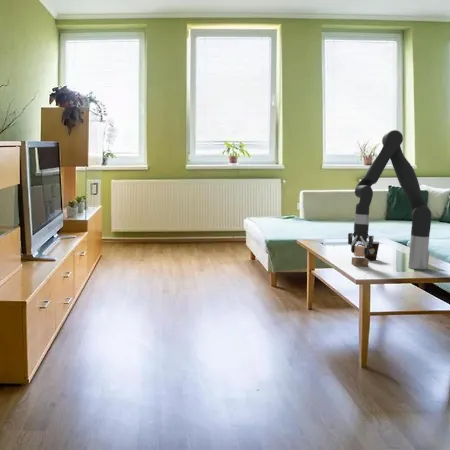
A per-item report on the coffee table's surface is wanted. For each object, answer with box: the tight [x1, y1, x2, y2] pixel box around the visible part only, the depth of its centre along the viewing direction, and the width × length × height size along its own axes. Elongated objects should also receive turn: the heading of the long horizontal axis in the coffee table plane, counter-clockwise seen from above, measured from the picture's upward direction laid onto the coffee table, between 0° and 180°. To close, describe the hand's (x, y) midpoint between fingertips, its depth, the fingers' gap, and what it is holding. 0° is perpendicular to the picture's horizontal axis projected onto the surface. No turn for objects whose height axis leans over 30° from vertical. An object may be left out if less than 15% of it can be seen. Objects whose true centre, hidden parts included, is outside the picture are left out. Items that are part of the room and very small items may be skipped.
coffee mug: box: [356, 240, 380, 262], centre depth 316 cm, size 12×9×10 cm
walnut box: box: [351, 256, 370, 268], centre depth 295 cm, size 7×7×4 cm
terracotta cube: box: [353, 245, 365, 258], centre depth 295 cm, size 5×5×5 cm
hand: (359, 253), depth 295 cm, fingers closed on terracotta cube, 7 cm apart
